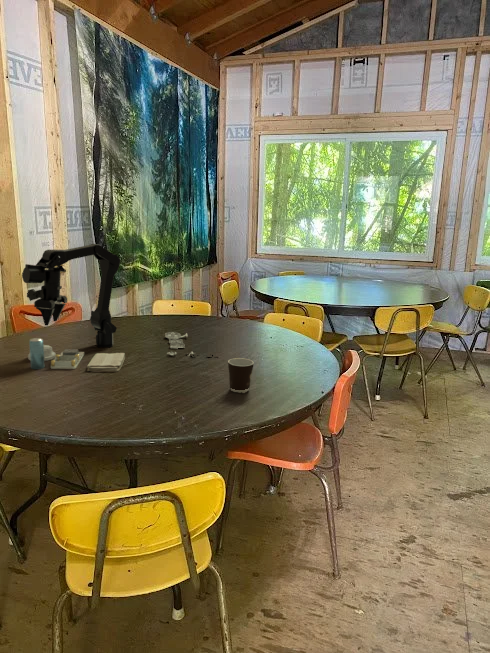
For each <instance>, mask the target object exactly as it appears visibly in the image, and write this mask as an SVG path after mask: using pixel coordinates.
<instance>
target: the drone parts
mask: <svg viewBox="0 0 490 653" xmlns="http://www.w3.org/2000/svg"><path fill="white" fill-rule="evenodd" d="M164 335H165V336H164V337H165V338H167V340H168V343H169V344H170V346H169V348H170V349H175V350H179V349H178V348H185V343H184V342H183V341H184V340H183V339H182V338H184V337H186V338H188V333H187V332H186V333H185V334H183V335H181V333H180V332H176V331H167V332H165V334H164ZM166 354H167V355H170V356H175V355H177V354H178V353H177V352H173V351H169V352H166ZM190 354H194V351H190V353H189V355H188V357H189V356H190Z"/></svg>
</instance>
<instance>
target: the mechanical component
mask: <svg viewBox="0 0 490 653" xmlns="http://www.w3.org/2000/svg"><path fill="white" fill-rule="evenodd" d="M55 357H56V352H54V351H53V347H52V346H50V345H48V344H47V345H46V344H44V362H47V361H51V360H54V359H55ZM27 359H28V360H29V361H30V353H28V355H27Z"/></svg>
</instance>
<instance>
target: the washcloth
mask: <svg viewBox="0 0 490 653" xmlns="http://www.w3.org/2000/svg"><path fill="white" fill-rule="evenodd" d="M125 359H126V354H125V352H115V353H107V352H106V353H104V352H103V353H97V352H96V353H95V354H94V356H93V357H92V358H91V360H90V361H89V363H88V364H87V365H86V368H87V370H86V371H87V372H94V373H97V372H99V373H100V372H103V373H104V372H106V373H108V372H109V373H110V372H111V373H116V372H118V371H120V369H122V366H123V364H124V361H125Z"/></svg>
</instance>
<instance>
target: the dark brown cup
mask: <svg viewBox="0 0 490 653" xmlns="http://www.w3.org/2000/svg"><path fill="white" fill-rule="evenodd" d="M254 363H255V362H254V361H253V360H252V359H248V358H242V357H237V358H235V357H234V358H231V359H228V361H227V365H228V379H229V380H228V382H229V389H230V388H232V389H235V390H245V389H248V388H249V389H250V386H251V381H252V374H253V371H254Z"/></svg>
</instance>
